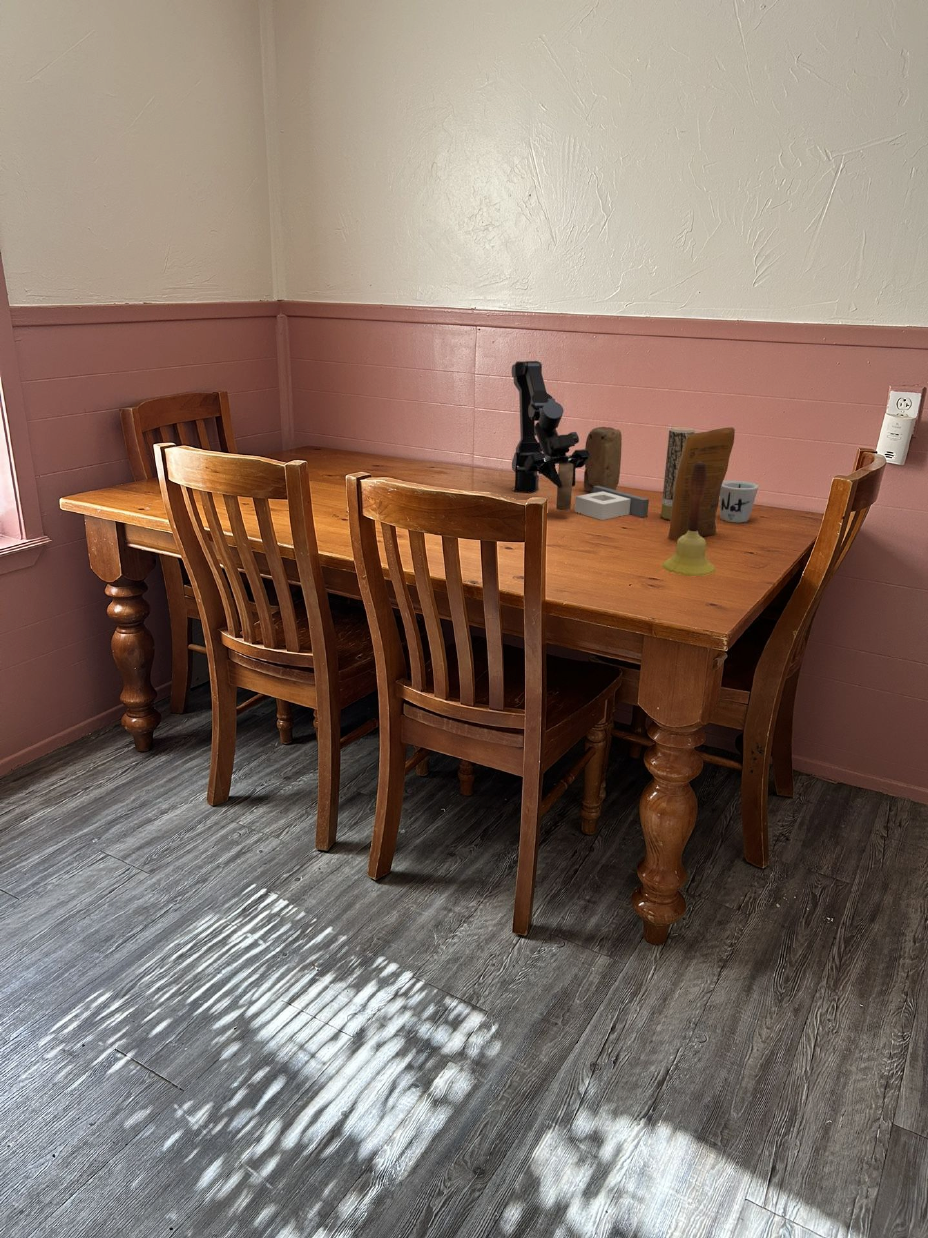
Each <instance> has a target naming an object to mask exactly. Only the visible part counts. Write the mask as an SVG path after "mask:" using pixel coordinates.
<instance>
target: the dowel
mask: <svg viewBox="0 0 928 1238" xmlns="http://www.w3.org/2000/svg"><path fill="white" fill-rule="evenodd" d="M557 473H558V476H559V478H560V481H561V484H562V487H561V488H559V487H557V486H556V487H557V489H556V491H557V492H556V504H555V505H556V510H559V511H571V507H572V505H571V504H572V492H573V486H572V478H573V464H572V463H559V464H558V469H557Z"/></svg>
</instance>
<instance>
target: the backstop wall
mask: <svg viewBox="0 0 928 1238" xmlns="http://www.w3.org/2000/svg"><path fill="white" fill-rule="evenodd" d="M602 491H603V492H607V493H611V494H614V495H618V496H622V497H625V498H629V499H631V502H630V514H629V515H631V516H635V517H639V518H646V517H648V513H649V502H650V499H649V498H645V497H642V496H639V495H638V496H637V495H634V494H631V493H626V492H623V491H620V490H613V489H609V488H605V487H602V486H593V493H597V492H602Z"/></svg>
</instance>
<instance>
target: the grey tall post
mask: <svg viewBox="0 0 928 1238" xmlns="http://www.w3.org/2000/svg"><path fill="white" fill-rule="evenodd" d="M693 433H696V428H694V427H688V426H671V427H669V430H668V438H667V449H666V457H665V458H666V459H665V461H666V462H665V470H664V477H663V478H664V479H663V489H662V490H663V491H662V500H661V511H660V516H661V518H662V519H664V520H667V521H670V519H671V510H672V502H673V492H674V484H675V478H676V472H677V468H678V464H679V460H680V457H681V453H682V449H683V446H684V442H685V439H689V434H693Z"/></svg>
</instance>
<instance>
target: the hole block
mask: <svg viewBox="0 0 928 1238" xmlns="http://www.w3.org/2000/svg"><path fill="white" fill-rule="evenodd" d="M574 501H575V502H574V512H575V513H577V512H578V514H580V513H581V515H584V516H588V517H590V518H593V519H596V520H599V521H605V520H609V519H613V518H619V516H620V517H622V516H623V517H624V516H628V515H631V514H630V502H631V499H629V498H625V497H622V496H618V495H614V494H611V493H607V492H603V491H602V492H597V493H591V492H590V493H587V494H582V495H576V496H575V500H574Z"/></svg>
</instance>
